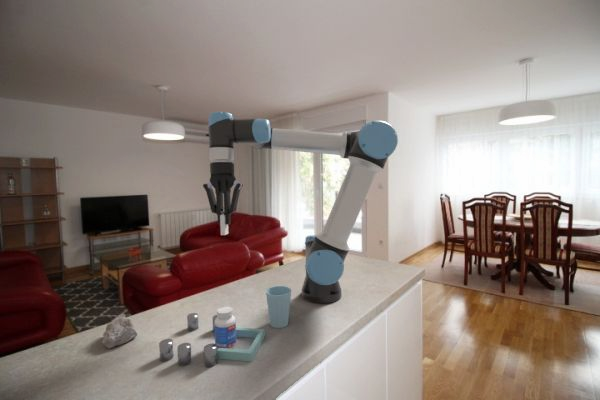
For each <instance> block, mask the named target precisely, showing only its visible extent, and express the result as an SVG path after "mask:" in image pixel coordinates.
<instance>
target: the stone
mask: <svg viewBox="0 0 600 400" xmlns="http://www.w3.org/2000/svg"><path fill="white" fill-rule="evenodd" d="M102 335H103V338H102V341H101V343H102V344H103V345H104V346H105V347H106V348H107V349H112V348H115V346H117V347H118V346H120V345H124V344H125V343H128V342H130V340H133V339H135V338H136V337H138V332H137V331H136V329H135V327H134V324H133V323H132V319H130V318H129V319H128V318H126V315H125V314H123V313H120V314H118V316H117V317H115V318H113V320H111V322H108V324H107V325H106V327H105V331H104V332H103V334H102Z"/></svg>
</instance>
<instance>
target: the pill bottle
mask: <svg viewBox="0 0 600 400" xmlns="http://www.w3.org/2000/svg"><path fill="white" fill-rule="evenodd" d="M216 315H217V318H216V319H215V333H214V344H216V345H217V348H228V349H235V347H236V344H237V337H236V327H237V325H236V317H235V315H234V310H233V307H230V306H223V307H222V306H221V307H219V308H218V309H217V310H216Z"/></svg>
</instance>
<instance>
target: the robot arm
mask: <svg viewBox="0 0 600 400" xmlns="http://www.w3.org/2000/svg"><path fill="white" fill-rule="evenodd" d="M207 129H208V142H209V144H208V145H209V146H208V147H209V161H210V163H209V168H210V169H209V170H210V171H209V173H210V178H209V181H208V182H207V183H203V185H202V187H203V188H204V191H205V192H206V195H207V200H208V203H209V207H210V210H211V213H212V214H216V215H217V224H218V225H219V226H220V236H226V235H228V234H229V225H231V221H232V220H231V214H233V213H236V211H237V208H238V203H239V202H238V201H239V197H240V194H241V193H240V192H241V189H242V188H243V185H244V184H243V183H242V182H241V183H240V182H238V180H237V179H236V176H235V163H234V161H235V154H234V151H235V149H234V144H249V145H250V146H252V147H253V148H254V149H258V150H263V149H264V150H265V149H266V150H278V151H279V150H280V151H291V152H292V151H293V152H303V153H315V154H324V155H335V156H336V155H337V156H340V157H341V159H348V161H349V164H350V165H349V166H348V169H347V171H346V174H345V176H344V179H343V180H342V183H341V185H340V188H339V190H338V193H337V196H336V198H335V200H334V203H333V205H332V207H331V210H330V213H329V215H328V218H327V220H326V222H325V224H324V227H323V230H322V232H320V233H319V232H318V234H313V235H312V234H311V235H307V236H305V241H304V245H305V247H304V248H305V265H304V267H305V277H304V280H303V282H302V287H301V297H302V298H303V299H304V300H305V301H308V302H311V303H315V304H330V303H334V302H337V301H339V300H340V299H341V298H342V295H343V293H342V287H341V284H340V281H339V280H340V279H342V276H343V275H344V269H345V264H344V263H345V261H346V258H347V256H348V253H349V250H350V248H349V244H348V240H349V239H350V238H349V237H350V235H351V233H352V231H353V229H354V226H355V224H356V222H357V219H358V217H359V215H360V212H361V211H362V207H363V205H364V203H365V200H366V198H367V195H368V193H369V190H370V188H371V187H372V183H373V181H374V179H375V176H376V175H377V174H378V173H380V172H383V169H384V168H385V165H386V163H387V161H388V158H389V157H390V156H391V155H392V154H393V153H394V151H395V150H396V148H397V146H398V141H399V140H398V134H397V131H396V130H395V128H394V127H393V125H391V124H390V123H389V122H386V121H384V120H372V121H370V122H368V123H366V124H364V125H363V126H362V127H361V129H359V130H357V131H343V132H342V133H331V132H321V131H311V130H309V131H308V130H300V129H299V130H298V129H288V128H276V127H274V128H273V127H271V124H270V120H268V119H267V118H260V117H259V118H242V119H238V118H237V119H235V118H234V117H233V114H232V113H230V112H227V111H214V112H211V113H209V115H208V127H207ZM213 188H214V189H215V190H214V189H213ZM232 188H234V189H233V191H231V189H232ZM214 191H215V192H214ZM231 193H232V196H231Z"/></svg>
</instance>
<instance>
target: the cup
mask: <svg viewBox="0 0 600 400" xmlns="http://www.w3.org/2000/svg"><path fill="white" fill-rule="evenodd" d="M265 295H266V303H267V304H266V305H267V310H268V318H269V323H270V327H272V328H275V329H283V328H285V327H287V326H288V325H289V318H290V309H291V308H290V307H291V299H292V298H291V297H292V289H291V288H290V287H289V286H285V285H275V286H271V287H269V288H267V289H266V290H265Z"/></svg>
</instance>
